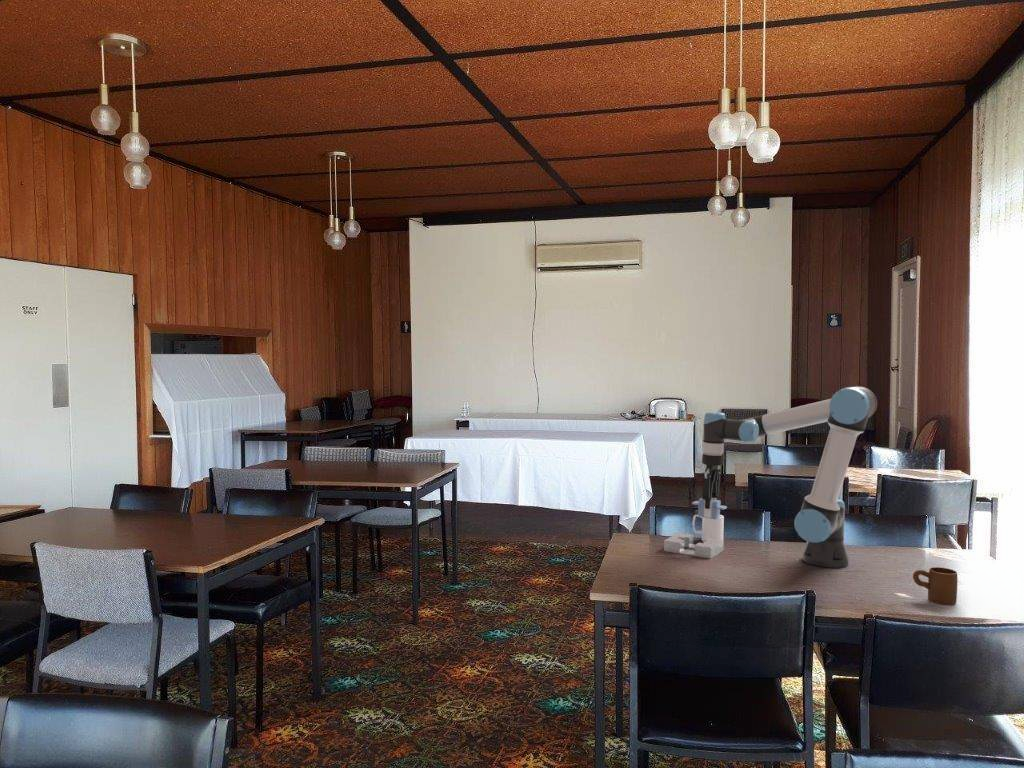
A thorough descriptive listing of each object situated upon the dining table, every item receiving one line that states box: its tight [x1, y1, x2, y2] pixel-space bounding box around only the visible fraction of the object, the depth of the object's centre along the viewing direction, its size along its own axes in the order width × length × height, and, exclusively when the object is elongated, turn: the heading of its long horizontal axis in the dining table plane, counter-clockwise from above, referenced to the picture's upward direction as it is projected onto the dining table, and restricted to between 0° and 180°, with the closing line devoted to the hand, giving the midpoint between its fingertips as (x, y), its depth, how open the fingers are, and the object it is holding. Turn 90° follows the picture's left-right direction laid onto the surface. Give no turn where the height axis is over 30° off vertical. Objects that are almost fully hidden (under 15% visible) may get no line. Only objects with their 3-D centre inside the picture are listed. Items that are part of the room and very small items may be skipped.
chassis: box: [663, 532, 725, 560], centre depth 282 cm, size 18×14×4 cm
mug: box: [912, 566, 959, 606], centre depth 227 cm, size 12×8×9 cm, turn 76°
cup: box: [692, 514, 725, 542], centre depth 297 cm, size 8×12×10 cm
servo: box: [691, 497, 728, 520], centre depth 280 cm, size 12×4×6 cm, turn 56°
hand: (709, 515), depth 279 cm, fingers closed on servo, 4 cm apart
